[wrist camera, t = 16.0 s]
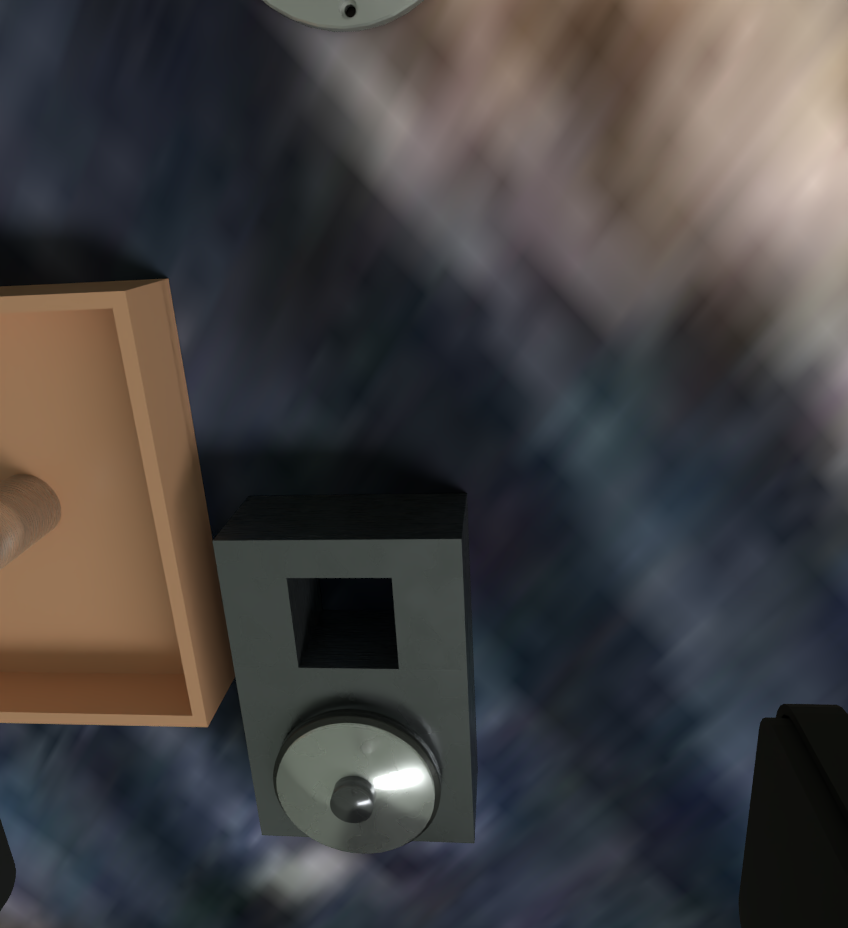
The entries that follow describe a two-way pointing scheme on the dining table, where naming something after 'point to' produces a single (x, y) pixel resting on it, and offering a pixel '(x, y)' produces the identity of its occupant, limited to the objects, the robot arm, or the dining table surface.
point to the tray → (107, 515)
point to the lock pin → (25, 514)
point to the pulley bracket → (355, 667)
